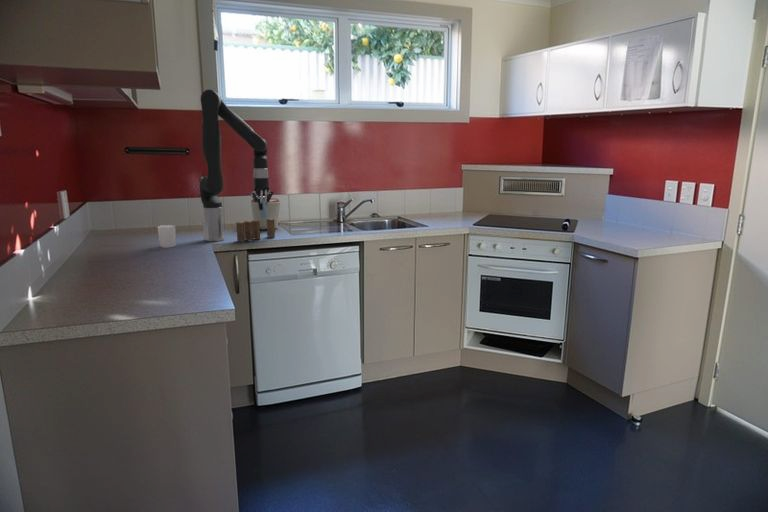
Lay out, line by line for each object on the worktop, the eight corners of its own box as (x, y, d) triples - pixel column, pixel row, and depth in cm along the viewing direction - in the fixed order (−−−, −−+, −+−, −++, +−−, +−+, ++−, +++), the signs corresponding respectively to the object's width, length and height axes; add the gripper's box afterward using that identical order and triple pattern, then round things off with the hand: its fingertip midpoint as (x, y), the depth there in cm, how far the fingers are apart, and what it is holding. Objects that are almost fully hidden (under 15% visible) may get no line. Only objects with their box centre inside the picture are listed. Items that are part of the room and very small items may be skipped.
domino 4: (266, 216, 269) (261, 197, 269) (261, 218, 272) (256, 200, 273) (268, 215, 270) (264, 197, 270) (264, 218, 273) (259, 200, 274)
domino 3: (257, 240, 269) (256, 221, 267) (252, 238, 273) (251, 220, 271) (260, 239, 270) (259, 220, 268) (255, 238, 274) (254, 219, 272)
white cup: (172, 244, 256) (171, 224, 254) (179, 246, 251) (177, 226, 249) (156, 246, 251) (154, 226, 249) (163, 248, 246) (161, 228, 243)
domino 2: (250, 241, 266) (249, 222, 264) (245, 239, 270) (244, 221, 268) (252, 240, 267) (251, 221, 265) (247, 239, 271) (246, 220, 269)
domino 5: (272, 238, 276) (271, 219, 273) (267, 236, 279) (266, 218, 277) (274, 237, 277) (274, 219, 275) (269, 236, 280) (269, 218, 278)
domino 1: (242, 242, 263) (241, 223, 261) (237, 240, 267) (236, 221, 265) (245, 241, 264) (244, 222, 262) (240, 240, 268) (239, 221, 266)
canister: (252, 231, 295) (250, 195, 291) (249, 227, 312) (247, 192, 307) (283, 230, 301) (282, 194, 296) (279, 225, 317) (278, 191, 313)
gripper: (268, 176, 275) (269, 208, 279) (245, 177, 266) (247, 210, 270) (276, 176, 270) (277, 209, 274) (253, 177, 261) (255, 211, 264)
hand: (262, 209), depth 272 cm, fingers closed on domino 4, 1 cm apart
